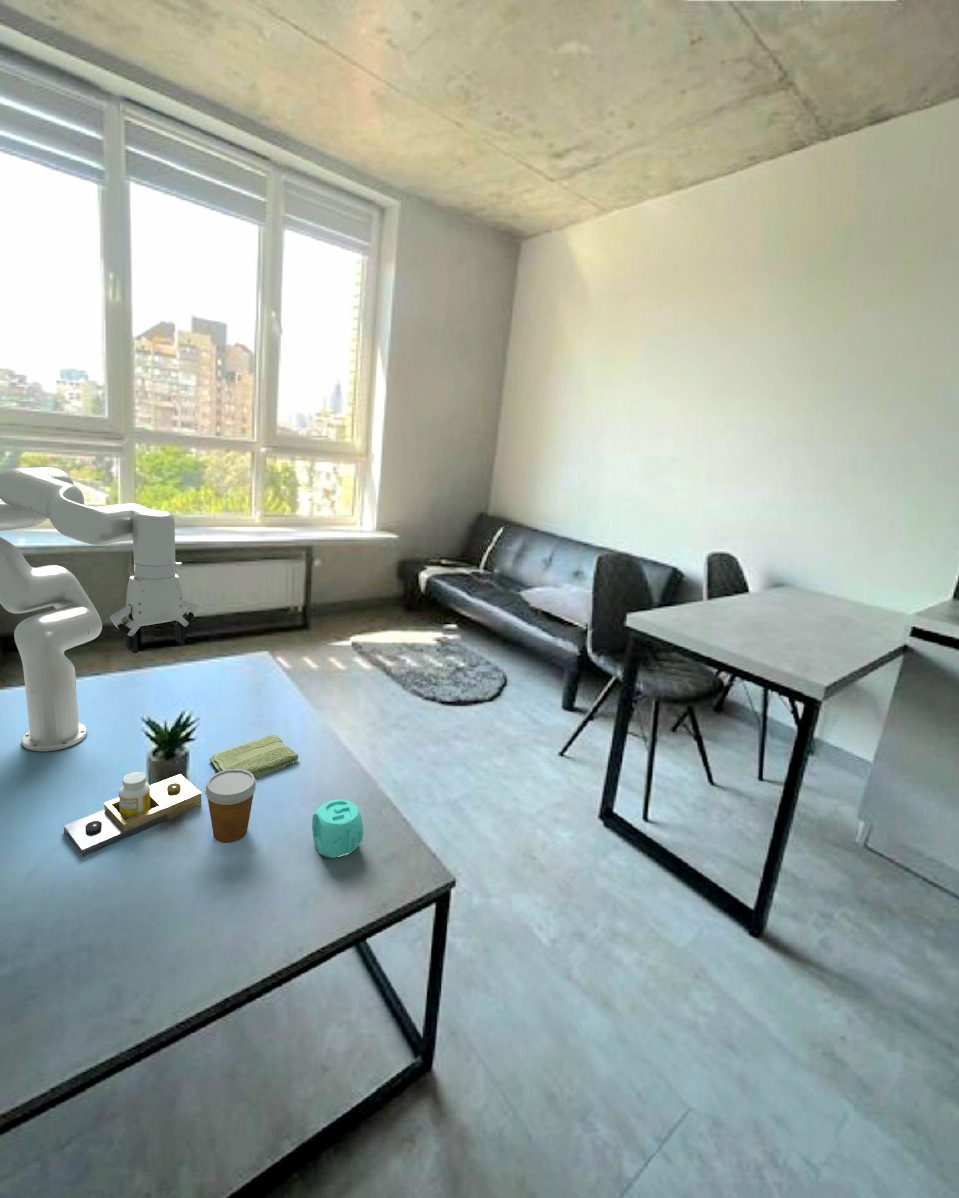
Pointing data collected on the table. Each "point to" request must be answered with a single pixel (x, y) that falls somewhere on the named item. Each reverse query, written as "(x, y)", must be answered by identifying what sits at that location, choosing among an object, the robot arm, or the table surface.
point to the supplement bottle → (134, 795)
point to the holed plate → (112, 827)
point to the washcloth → (256, 756)
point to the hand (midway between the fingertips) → (157, 646)
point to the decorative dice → (337, 828)
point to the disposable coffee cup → (230, 803)
